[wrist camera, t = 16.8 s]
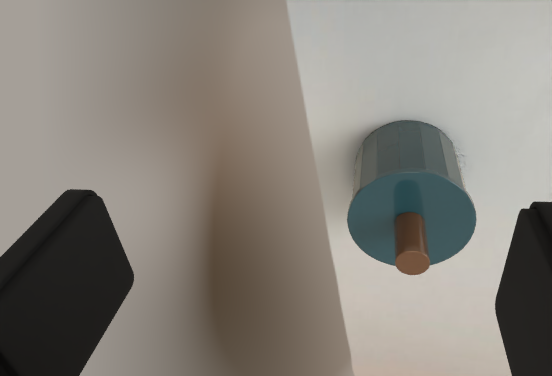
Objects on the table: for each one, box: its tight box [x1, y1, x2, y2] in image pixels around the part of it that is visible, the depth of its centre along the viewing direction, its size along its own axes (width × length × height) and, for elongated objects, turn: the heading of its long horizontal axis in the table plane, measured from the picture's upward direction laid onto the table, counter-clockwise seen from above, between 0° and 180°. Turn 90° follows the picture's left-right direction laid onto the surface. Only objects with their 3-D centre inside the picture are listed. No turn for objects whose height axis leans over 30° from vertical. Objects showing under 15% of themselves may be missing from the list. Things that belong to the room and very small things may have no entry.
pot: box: [352, 121, 466, 198], centre depth 38 cm, size 9×9×8 cm
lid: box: [347, 168, 476, 275], centre depth 33 cm, size 10×10×6 cm
